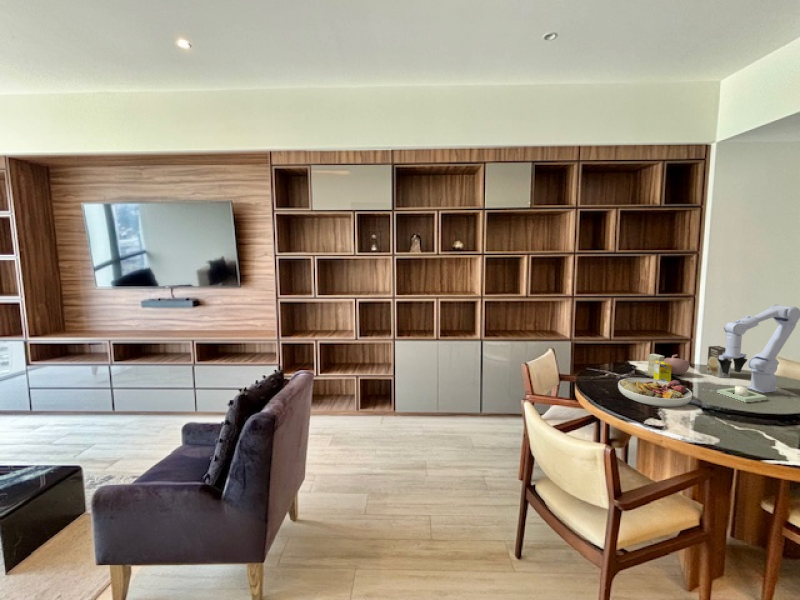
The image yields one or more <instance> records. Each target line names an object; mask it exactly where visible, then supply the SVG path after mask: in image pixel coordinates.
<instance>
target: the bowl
mask: <svg viewBox="0 0 800 600" xmlns="http://www.w3.org/2000/svg"><path fill="white" fill-rule="evenodd" d="M617 388H618V390H619V392H620V393H621V394H622V395H623V396H624V397H626V398H628V399H630V400H631V401H634V402H638V403H640V404H644V405H649V406H654V407H662V408H676V407H677V408H678V407H682V406H685V405H687V404H689V403H690V402H691V401H692V399H693V392H692V391H691V389H689V388H686V387H685V386H684V385H682V384H681V382H680V381H679V380H676V379H674V380H671V382H667V381H662V380H656V379H654V378H647V377H628V378H622V379H620V380H619V381H618V383H617Z"/></svg>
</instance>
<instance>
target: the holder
mask: <svg viewBox="0 0 800 600" xmlns="http://www.w3.org/2000/svg"><path fill="white" fill-rule="evenodd" d="M717 393H720V394H723V395H726V396H729V397H732V398H735V399H738V400H741V401H744V402H750V401H758V402H762V401H761V400H766V401H767V398H768V396H767V395H763V394H761V393H756V392H754V391H752V390H751V391H750V390H748V396H747V397H742V396H739V395H736V394H735V387H729V388H721V389H716V394H717ZM733 393H734V394H733ZM720 394H719V395H720Z"/></svg>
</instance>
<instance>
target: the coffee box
mask: <svg viewBox="0 0 800 600" xmlns="http://www.w3.org/2000/svg"><path fill="white" fill-rule="evenodd" d="M707 349H708V351H707V362H706V363H707V364H706V374H709V375H712V376H714V377H717V378H718V379H726V378H730V377H731V367H732V366H731V365H732V364H731V365H730V367H729V372H728V374H726V373H723V372H722V368H721V365H720V363H719V361H718V358H719V355H723V353H725V350H726V347H723V346H721V345H716V346H715V345H713V346H712V345H710V346H708V348H707ZM728 360H729V361H732V359H728Z"/></svg>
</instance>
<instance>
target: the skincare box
mask: <svg viewBox="0 0 800 600" xmlns="http://www.w3.org/2000/svg"><path fill="white" fill-rule="evenodd" d="M664 359H665V355H661V354H657V353H649V354H648V363H647V366H648V367H647V375H649V376H652V377H654V362H655V361H660V362H664Z"/></svg>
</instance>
